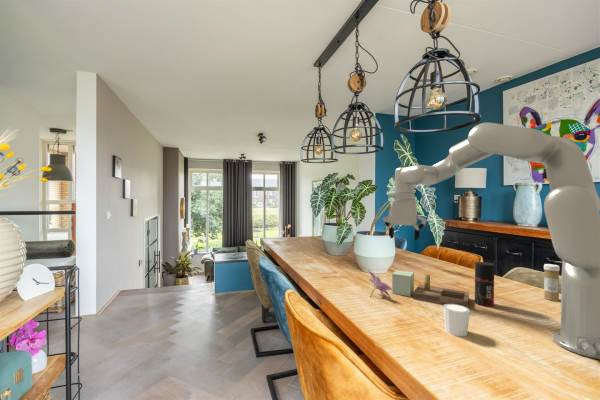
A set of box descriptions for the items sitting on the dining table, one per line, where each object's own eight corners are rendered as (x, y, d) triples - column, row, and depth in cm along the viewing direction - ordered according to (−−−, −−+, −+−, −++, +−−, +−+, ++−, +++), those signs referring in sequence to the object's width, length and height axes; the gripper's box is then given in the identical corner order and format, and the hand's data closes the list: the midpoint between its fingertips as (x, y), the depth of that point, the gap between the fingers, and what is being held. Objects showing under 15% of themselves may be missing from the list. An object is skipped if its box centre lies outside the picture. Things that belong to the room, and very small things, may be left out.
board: (467, 309, 98) (467, 285, 98) (413, 298, 108) (413, 277, 108) (468, 298, 109) (469, 276, 109) (419, 289, 119) (419, 270, 119)
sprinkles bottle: (560, 300, 108) (561, 265, 108) (557, 302, 106) (557, 266, 106) (545, 296, 112) (546, 263, 112) (541, 298, 110) (542, 264, 110)
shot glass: (445, 324, 86) (445, 301, 86) (471, 331, 82) (471, 307, 82) (440, 332, 81) (440, 308, 81) (467, 340, 76) (467, 314, 76)
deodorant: (485, 307, 100) (485, 265, 100) (470, 301, 106) (471, 262, 106) (497, 306, 101) (498, 264, 101) (483, 300, 107) (483, 261, 107)
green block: (410, 296, 111) (410, 276, 110) (392, 293, 114) (392, 273, 114) (413, 291, 116) (414, 272, 116) (396, 288, 120) (396, 270, 120)
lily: (392, 306, 103) (400, 282, 105) (362, 292, 104) (371, 268, 107) (383, 305, 114) (391, 282, 117) (356, 292, 116) (364, 270, 118)
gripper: (380, 197, 117) (380, 238, 117) (425, 197, 107) (425, 241, 107) (385, 197, 123) (385, 236, 123) (428, 197, 114) (428, 239, 114)
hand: (403, 238), depth 115 cm, fingers open, 9 cm apart
